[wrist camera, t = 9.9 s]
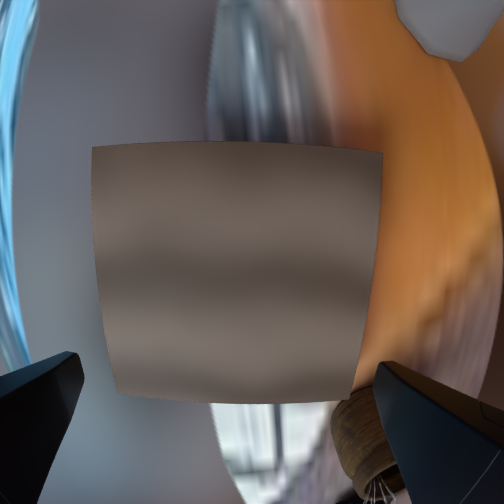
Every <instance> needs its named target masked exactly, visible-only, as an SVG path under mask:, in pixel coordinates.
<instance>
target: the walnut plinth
mask: <svg viewBox="0 0 504 504" xmlns="http://www.w3.org/2000/svg"><path fill="white" fill-rule="evenodd" d="M382 164H383V153H380V152H372V151H365V150H356V149H348V148H338V147H328V146H316V145H304V144H289V143H270V142H242V141H187V142H186V141H185V142H155V143H137V144H122V145H111V146H99V147H92V175H91V177H92V179H91V181H92V183H91V185H92V222H93V240H94V252H95V264H96V274H97V283H98V292H99V299H100V306H101V313H102V320H103V326H104V332H105V337H106V343H107V348H108V353H109V358H110V363H111V368H112V372H113V377H114V381H115V385H116V390H117V393H119V394H125V395H132V396H139V397H148V398H157V399H166V400H177V401H189V402H204V403H227V404H285V403H308V402H324V401H336V400H347V399H349V397H350V394H351V389H352V385H353V381H354V377H355V373H356V368H357V364H358V359H359V354H360V349H361V344H362V339H363V334H364V329H365V323H366V318H367V312H368V306H369V300H370V293H371V286H372V279H373V272H374V264H375V256H376V247H377V238H378V227H379V216H380V203H381V186H382Z"/></svg>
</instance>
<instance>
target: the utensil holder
mask: <svg viewBox="0 0 504 504" xmlns="http://www.w3.org/2000/svg"><path fill="white" fill-rule="evenodd" d="M330 428H331V434H332V438H333V441H334V445H335V448H336V451H337V454H338V457H339V460H340V463H341V466H342V468H343V470H344V472H345V473H346V475H347V476H348V477H349V478H350V479H352V480H353V487H354V489H355V491H356V492H357V494H358V495H359V497H360V498H362V499H364V502H365V500H366V503H367V500H368V501H371V504H372V501H374V504H375V501H378V500H383V499H384V500H386V499H387V498H391V497H393V496H394V498H395V496H396V495H398V494H400V493H402V492H404V491H406V490H407V488H406V486H405V483H404V480H403V478H402V475H401V472H400V470H399V467H398V464H397V462H396V459H395V457H394V454H393V452H392V449H391V447H390V444H389V442H388V439H387V437H386V434H385V431H384V428H383V425H382V421H381V418H380V414H379V410H378V407H377V403H376V400H375V396H374V392H373V387H369V388H365V389H362V390H360V391H358V392H355V393H354V394H352V395H350V397H349V399H347V400H344V401H343V402H342V403H341V404H340V405H339V406H338V407H337V408H336V410H335V411H334V413H333V415H332V418H331V423H330ZM394 498H393V499H394ZM395 500H396V498H395V499H394V501H395ZM385 503H386V504H387V501H385ZM395 503H396V504H398V503H397V500H396V501H395ZM363 504H364V503H363Z"/></svg>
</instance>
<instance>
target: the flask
mask: <svg viewBox="0 0 504 504" xmlns="http://www.w3.org/2000/svg"><path fill="white" fill-rule="evenodd" d="M394 2H395V6H396V9H397V13H398V17H399V20H400V21H401V22H402V23H403V24H404V26H405V27H406V28H407V29H408V30H409V31H410V33H411V34H412V35H413V36H414V37H415V39H416V40H417V41H418V42H419V44H420V45H421V46H422V47H423V49H424V50H425V51H426V53H427V54H429V55H433V56H437V57H441V58H445V59H449V60H453V61H456V62H459V63H461V62H462V61H464V60H465V59H466V58H467V57H469V56H470V55H471V54H472V53H474V52H475V51H477V50H478V49H479V47H480V46H481V45H482V43H483V42H484V40H485V38H486V37H487V35H488V33H489V32H490V30H491V29H492V27H493V25H494V24H495V22H496V21H497V20H498V18H499V17H500V15H501V13H502V12H503V11H504V0H394Z"/></svg>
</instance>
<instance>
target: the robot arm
mask: <svg viewBox="0 0 504 504" xmlns="http://www.w3.org/2000/svg"><path fill="white" fill-rule="evenodd" d="M83 384H84V372H83V368H82V365H81V361H80V357H79V355H78V354H77V353H74V352H69V351H65V352H62V353H60V354H57V355H55V356H52V357H50V358H47V359H45V360H42V361H39V362H37V363H34V364H32V365H29V366H26V367H24V368H21V369H19V370H16V371H13V372H11V373H8V374H5V375H3V376H0V504H37V502H38V499H39V496H40V494H41V491H42V489H43V486H44V483H45V481H46V478H47V476H48V473H49V471H50V468H51V466H52V463H53V461H54V459H55V456H56V453H57V451H58V449H59V447H60V444H61V442H62V440H63V437H64V435H65V433H66V431H67V428H68V426H69V424H70V422H71V419H72V416H73V414H74V410H75V407H76V404H77V401H78V398H79V395H80V393H81V389H82V387H83ZM373 392H374V396H375V400H376V403H377V407H378V410H379V414H380V418H381V421H382V425H383V428H384V431H385V434H386V437H387V439H388V442H389V444H390V447H391V449H392V452H393V454H394V457H395V459H396V462H397V464H398V467H399V470H400V472H401V475H402V478H403V480H404V483H405V486H406V488H407V491H408V494H409V496H410V499H411V502H412V504H504V411H503V410H501V409H498V408H496V407H493V406H491V405H488V404H486V403H484V402H482V401H480V402H479V400H477V399H475V398H472V397H470V396H468V395H466V394H463V393H461V392H459V391H457V390H455V389H452V388H450V387H448V386H446V385H444V384H441V383H439V382H437V381H435V380H433V379H430V378H428V377H426V376H424V375H422V374H420V373H418V372H415V371H413V370H411V369H409V368H407V367H405V366H403V365H401V364H399V363H396V362H394V361H383V362H380V363H379V364H378V367H377V371H376V375H375V378H374V382H373ZM393 498H394V496H393V497H391V498H387V499H386V500H384V499H383V500H378V501H375V504H386V503H385V501H387V504H390V503H391V501H392V500H393ZM363 503H364V504H371V501H368V500H367V503H366V500H365V502H364V499H362V498H358V499H352V500H347V501H341V502H338V503H336V504H363ZM372 504H374V501H372Z"/></svg>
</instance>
